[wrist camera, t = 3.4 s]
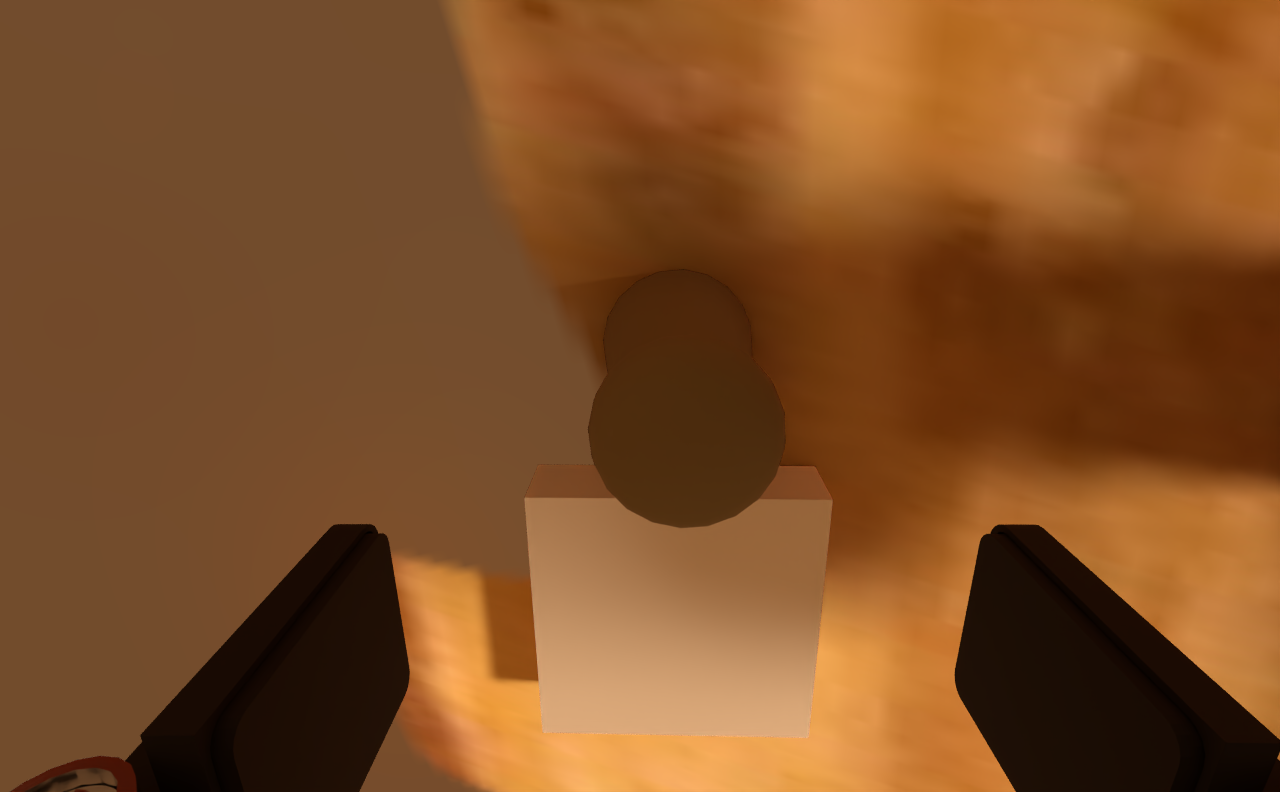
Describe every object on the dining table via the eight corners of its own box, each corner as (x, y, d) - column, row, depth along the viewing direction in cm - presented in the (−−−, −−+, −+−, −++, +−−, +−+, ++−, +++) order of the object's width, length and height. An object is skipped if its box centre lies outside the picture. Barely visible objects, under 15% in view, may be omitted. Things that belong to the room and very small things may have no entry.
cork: (735, 251, 24) (790, 307, 14) (765, 395, 26) (834, 539, 16) (585, 291, 25) (531, 372, 15) (625, 428, 27) (602, 586, 16)
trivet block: (538, 464, 27) (524, 497, 25) (815, 466, 27) (832, 499, 24) (553, 682, 31) (542, 732, 29) (795, 686, 31) (808, 737, 28)
